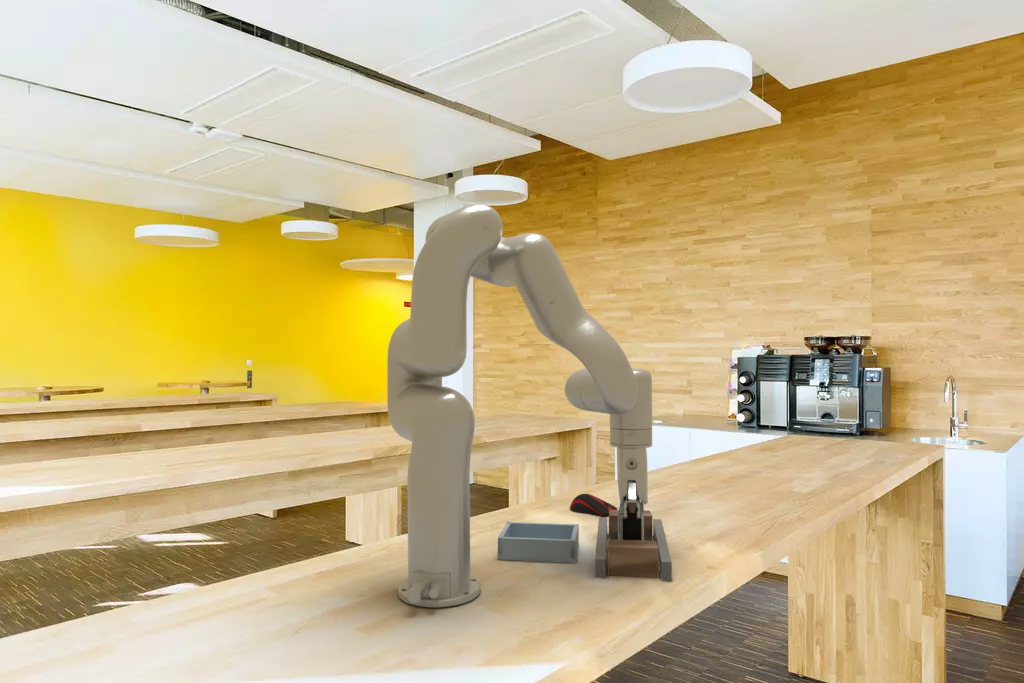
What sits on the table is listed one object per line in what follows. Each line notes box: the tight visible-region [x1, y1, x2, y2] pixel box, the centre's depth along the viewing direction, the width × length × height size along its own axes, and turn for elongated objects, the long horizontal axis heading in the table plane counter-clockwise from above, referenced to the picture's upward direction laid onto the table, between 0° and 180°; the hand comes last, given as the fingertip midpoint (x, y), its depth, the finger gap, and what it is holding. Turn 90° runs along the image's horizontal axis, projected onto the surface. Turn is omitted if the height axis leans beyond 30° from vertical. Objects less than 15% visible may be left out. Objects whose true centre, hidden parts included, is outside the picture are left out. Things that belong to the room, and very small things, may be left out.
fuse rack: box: [594, 516, 673, 582], centre depth 124 cm, size 26×12×3 cm, turn 171°
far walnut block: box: [608, 509, 653, 541], centre depth 133 cm, size 4×8×5 cm, turn 86°
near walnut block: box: [607, 538, 659, 579], centre depth 114 cm, size 4×8×5 cm, turn 82°
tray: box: [497, 521, 580, 564], centre depth 125 cm, size 11×14×4 cm
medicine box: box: [618, 501, 645, 541], centre depth 124 cm, size 8×4×9 cm, turn 168°
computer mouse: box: [569, 493, 618, 517], centre depth 154 cm, size 6×11×4 cm, turn 50°
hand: (631, 533), depth 124 cm, fingers open, 8 cm apart
